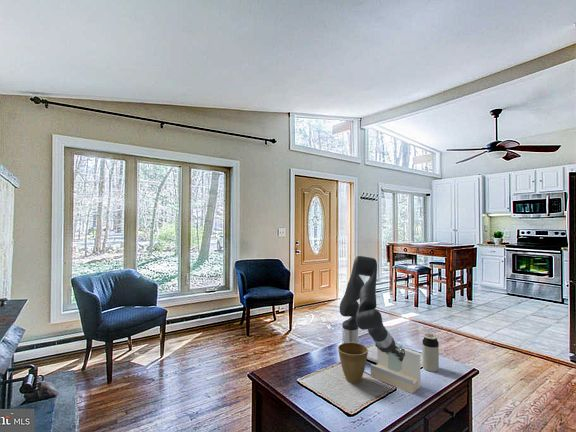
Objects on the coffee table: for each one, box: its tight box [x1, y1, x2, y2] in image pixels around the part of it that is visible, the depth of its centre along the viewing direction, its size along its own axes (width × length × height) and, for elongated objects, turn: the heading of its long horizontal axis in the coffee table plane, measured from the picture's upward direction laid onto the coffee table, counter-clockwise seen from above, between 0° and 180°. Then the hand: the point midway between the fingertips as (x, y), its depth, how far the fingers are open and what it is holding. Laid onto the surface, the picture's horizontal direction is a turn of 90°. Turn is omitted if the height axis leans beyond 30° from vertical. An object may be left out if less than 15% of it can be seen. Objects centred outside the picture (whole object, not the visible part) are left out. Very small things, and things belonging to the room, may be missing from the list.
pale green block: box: [388, 342, 403, 372], centre depth 144 cm, size 4×4×11 cm
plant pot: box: [337, 342, 369, 384], centre depth 159 cm, size 15×15×16 cm
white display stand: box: [370, 347, 421, 394], centre depth 157 cm, size 9×22×16 cm, turn 44°
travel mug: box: [422, 332, 440, 373], centre depth 169 cm, size 8×8×18 cm
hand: (396, 357), depth 145 cm, fingers closed on pale green block, 4 cm apart
